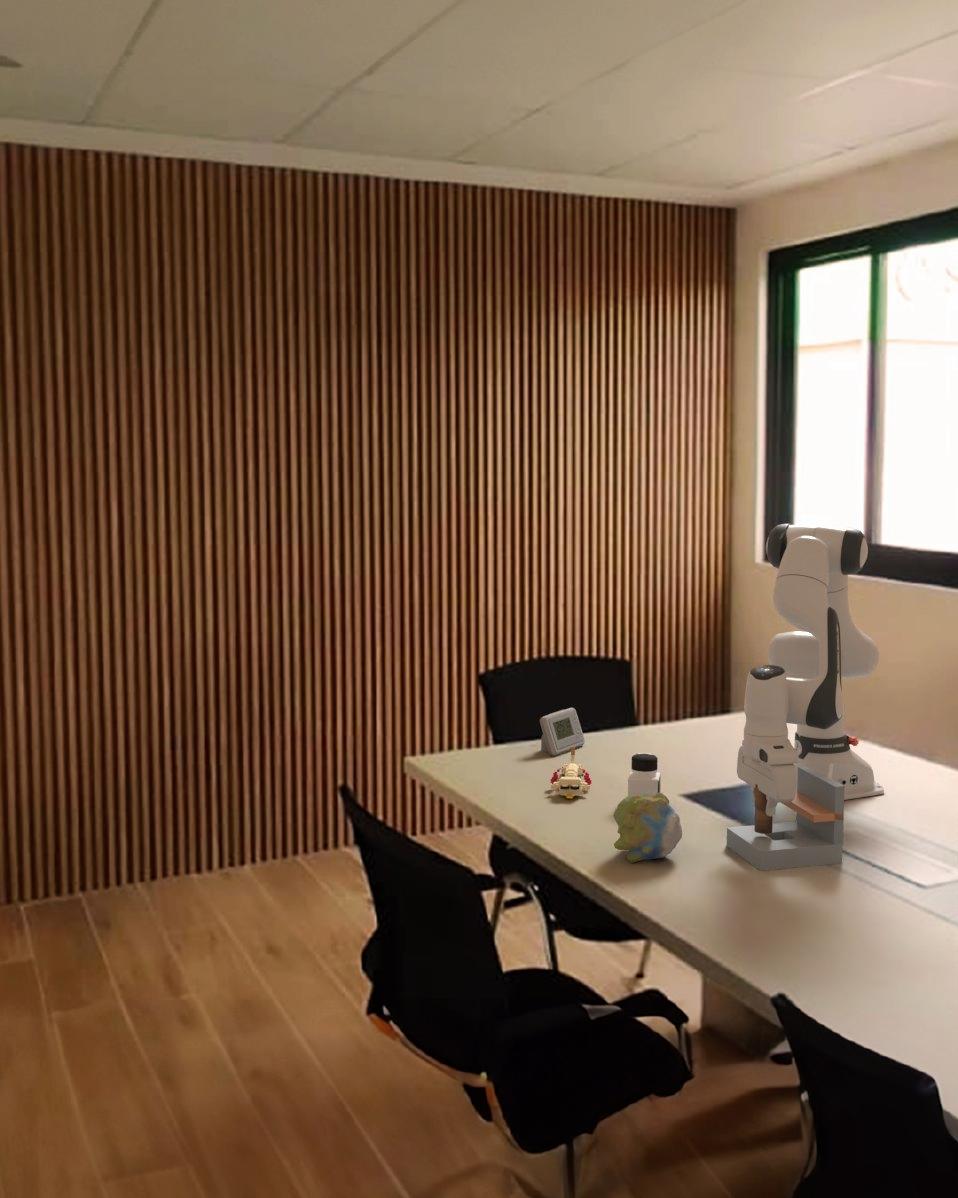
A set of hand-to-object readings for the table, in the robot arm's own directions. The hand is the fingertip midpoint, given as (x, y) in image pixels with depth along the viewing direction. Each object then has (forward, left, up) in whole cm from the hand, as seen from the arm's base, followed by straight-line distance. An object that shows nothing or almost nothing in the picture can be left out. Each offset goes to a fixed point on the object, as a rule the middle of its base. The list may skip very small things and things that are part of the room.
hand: (764, 811), depth 263 cm
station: (-3, 0, -9) cm, 10 cm away
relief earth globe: (+25, -6, -10) cm, 27 cm away
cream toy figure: (+23, -60, -10) cm, 65 cm away
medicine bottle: (+11, -41, -10) cm, 43 cm away
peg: (0, 0, -4) cm, 4 cm away
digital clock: (+14, -96, -10) cm, 97 cm away
